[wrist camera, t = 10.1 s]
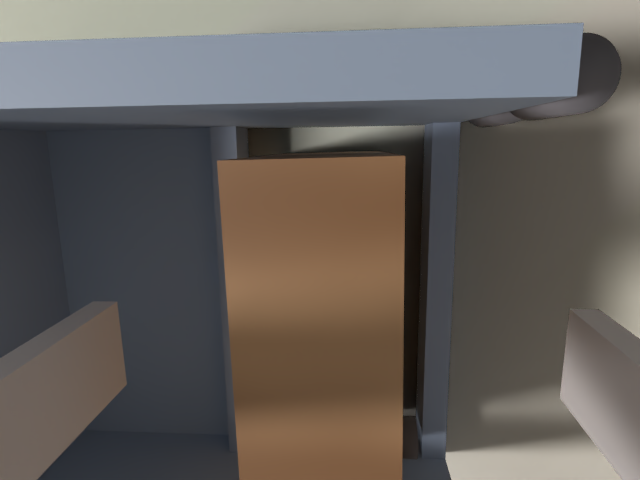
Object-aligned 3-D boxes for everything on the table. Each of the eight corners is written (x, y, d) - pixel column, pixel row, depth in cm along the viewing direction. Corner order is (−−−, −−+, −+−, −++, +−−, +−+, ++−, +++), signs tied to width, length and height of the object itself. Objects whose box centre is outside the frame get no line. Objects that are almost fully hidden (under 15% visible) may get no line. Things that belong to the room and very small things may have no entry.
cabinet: (470, 454, 22) (584, 757, 11) (74, 441, 23) (-169, 696, 12) (491, 87, 18) (684, 6, 8) (27, 99, 20) (-358, 43, 9)
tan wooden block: (285, 153, 20) (217, 160, 10) (403, 150, 19) (454, 154, 9) (295, 407, 22) (249, 617, 12) (401, 409, 22) (440, 626, 12)
